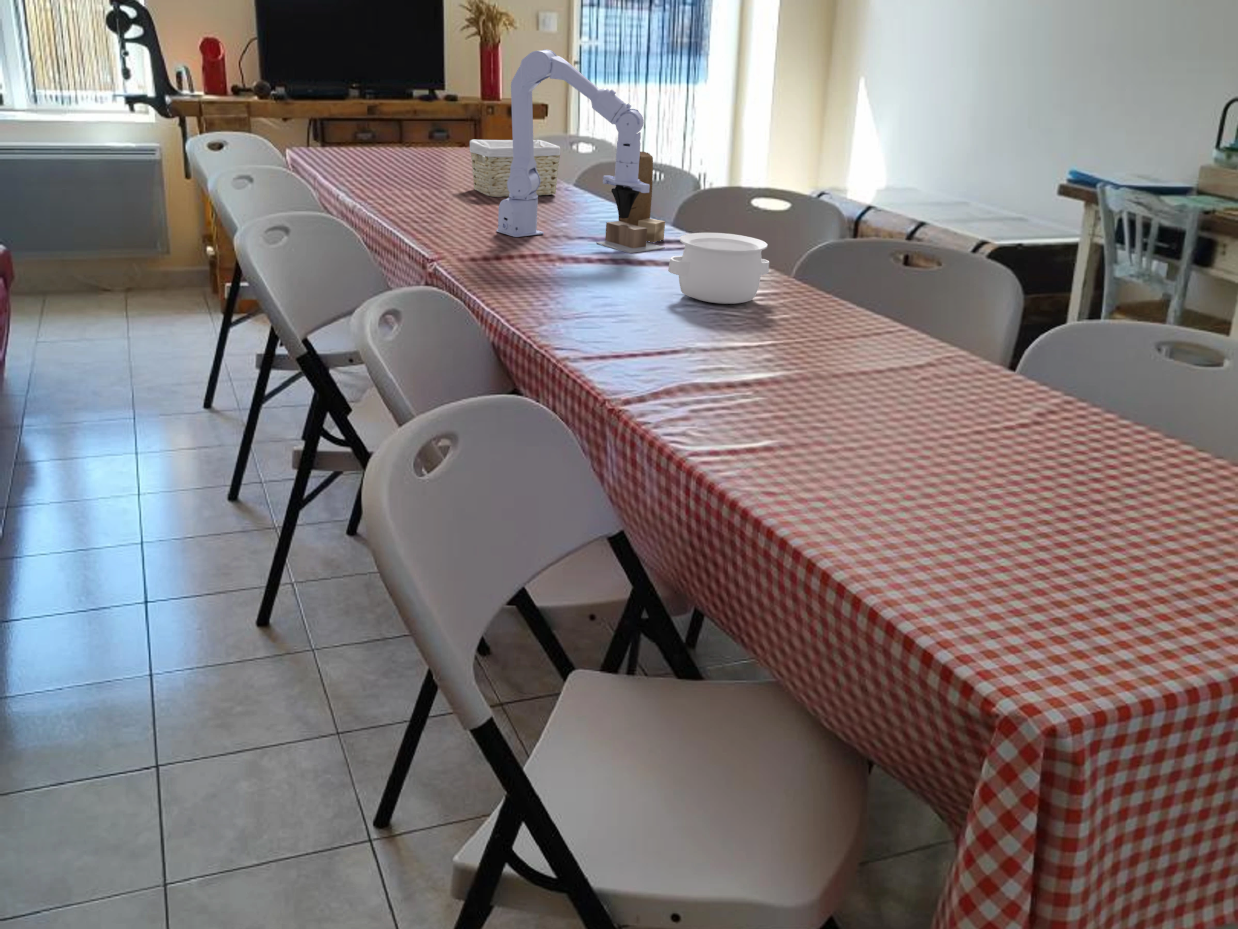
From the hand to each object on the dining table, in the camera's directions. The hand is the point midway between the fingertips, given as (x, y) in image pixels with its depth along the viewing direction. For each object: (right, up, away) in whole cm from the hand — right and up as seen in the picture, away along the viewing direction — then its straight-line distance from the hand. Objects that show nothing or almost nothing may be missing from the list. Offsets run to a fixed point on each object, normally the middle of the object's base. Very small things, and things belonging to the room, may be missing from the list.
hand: (623, 217), depth 284 cm
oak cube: (+7, -4, +9) cm, 12 cm away
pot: (+19, -27, -43) cm, 54 cm away
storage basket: (-33, +20, +61) cm, 73 cm away
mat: (+2, -7, 0) cm, 7 cm away
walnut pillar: (-3, -2, +4) cm, 5 cm away
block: (+2, +1, +20) cm, 20 cm away
